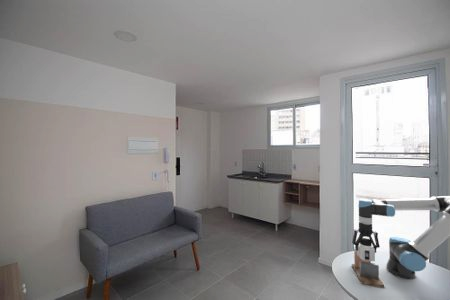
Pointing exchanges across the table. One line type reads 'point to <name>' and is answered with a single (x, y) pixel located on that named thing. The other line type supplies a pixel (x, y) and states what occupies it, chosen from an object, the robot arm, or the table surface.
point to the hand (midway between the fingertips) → (365, 256)
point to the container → (366, 250)
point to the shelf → (367, 280)
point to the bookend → (369, 270)
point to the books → (358, 259)
